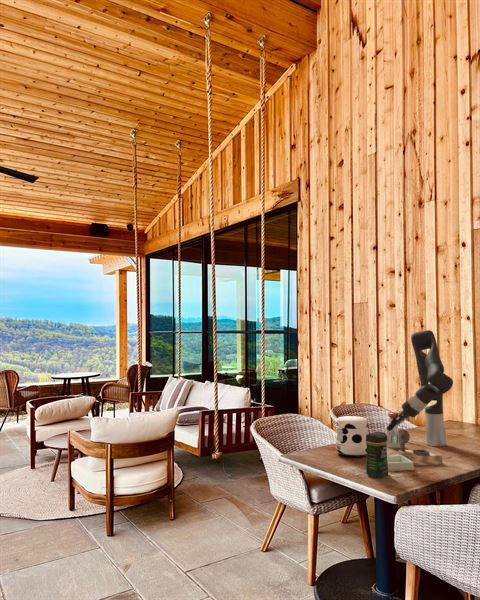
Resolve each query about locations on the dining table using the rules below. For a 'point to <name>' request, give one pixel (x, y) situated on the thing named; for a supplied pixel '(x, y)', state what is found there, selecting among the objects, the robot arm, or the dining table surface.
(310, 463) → the dining table surface
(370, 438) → the coffee jar
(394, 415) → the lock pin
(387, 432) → the small box
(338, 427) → the white printed canister
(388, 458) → the tray
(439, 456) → the block
